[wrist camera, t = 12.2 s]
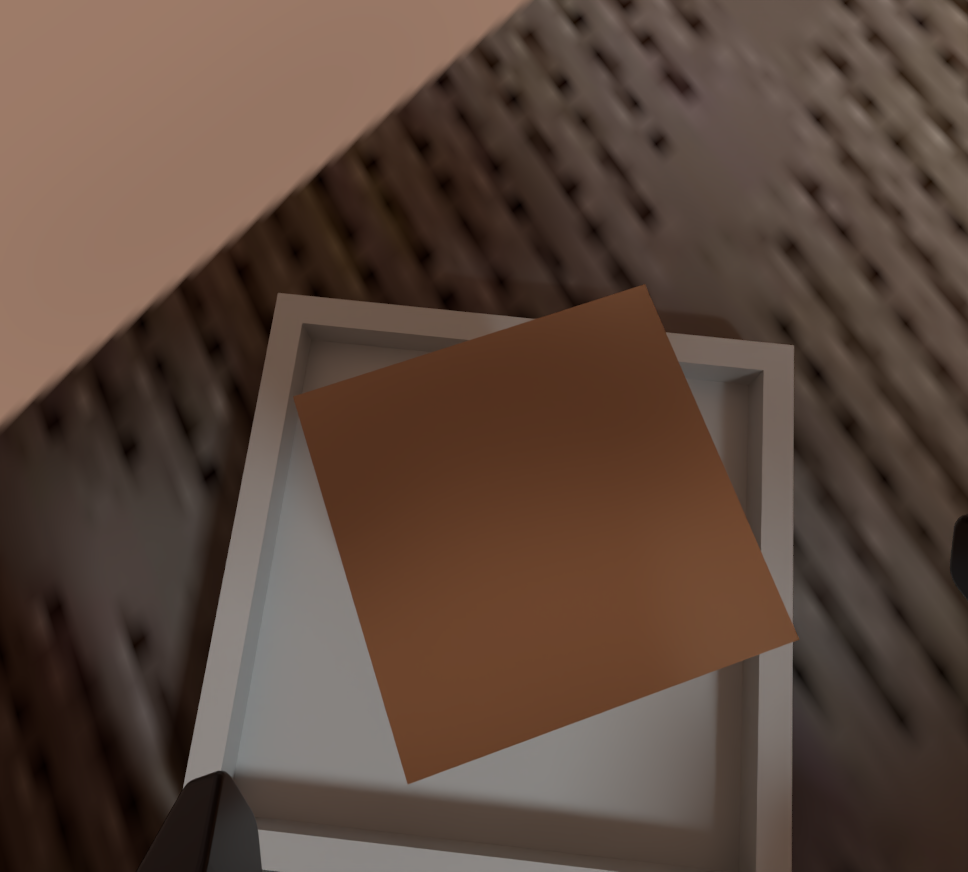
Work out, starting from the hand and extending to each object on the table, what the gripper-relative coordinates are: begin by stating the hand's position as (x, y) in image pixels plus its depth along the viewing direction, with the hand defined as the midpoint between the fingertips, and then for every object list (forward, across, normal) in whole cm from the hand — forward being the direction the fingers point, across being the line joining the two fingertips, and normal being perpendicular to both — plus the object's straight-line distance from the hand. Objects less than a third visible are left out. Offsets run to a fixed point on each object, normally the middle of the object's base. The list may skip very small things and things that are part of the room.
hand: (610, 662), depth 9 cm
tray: (+10, 0, +7) cm, 12 cm away
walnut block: (+9, 0, +7) cm, 11 cm away
